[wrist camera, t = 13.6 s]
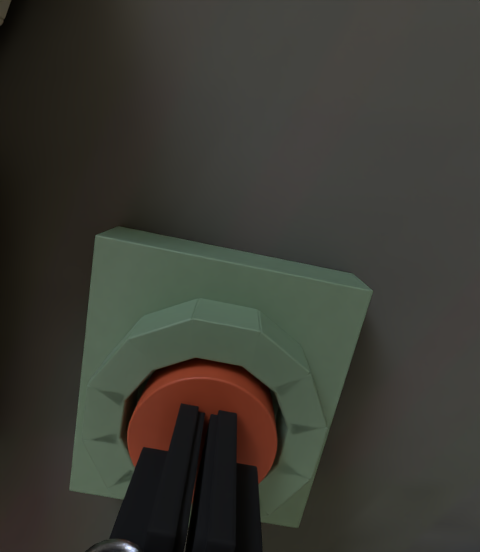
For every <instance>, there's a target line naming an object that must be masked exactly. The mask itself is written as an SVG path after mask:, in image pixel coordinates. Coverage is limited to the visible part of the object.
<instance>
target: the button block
mask: <svg viewBox="0 0 480 552" xmlns="http://www.w3.org/2000/svg"><path fill="white" fill-rule="evenodd" d="M372 293H373V290H371V289H370V288H369V287H368V286H367V285H366V284H364V283H363V282H362V281H361V280H360V279H358V278H357V277H356V276H355V275H354V274H352V273H347V272H342V271H337V270H332V269H327V268H323V267H318V266H313V265H308V264H303V263H298V262H293V261H288V260H283V259H278V258H273V257H268V256H263V255H258V254H253V253H249V252H244V251H239V250H234V249H229V248H224V247H219V246H214V245H209V244H204V243H199V242H194V241H189V240H184V239H179V238H175V237H170V236H165V235H160V234H155V233H150V232H145V231H140V230H135V229H130V228H125V227H120V226H118V227H115V228H113V229H110V230H108V231H105V232H102V233H100V234H97V235H96V236H95V244H94V253H93V263H92V273H91V283H90V293H89V302H88V312H87V322H86V332H85V342H84V351H83V361H82V371H81V381H80V390H79V400H78V410H77V420H76V430H75V439H74V449H73V459H72V469H71V479H70V488H69V490H70V491H75V492H81V493H87V494H93V495H99V496H105V497H111V498H117V499H122V500H124V497H125V494H126V492H127V489H128V486H129V483H130V481H131V478H132V475H133V472H134V470H135V467H134V465H133V463H132V460H131V458H130V455H129V451H128V444H127V431H128V426H129V422H130V419H131V417H132V414H133V412H134V410H135V408H136V406H137V403H138V401H139V399H140V397H141V395H142V393H143V390H144V388H145V386H146V384H147V382H148V380H149V379H150V377H151V376H152V374H153V373H154V372H155V371H156V370H157V369H160V368H163V367H167V366H170V365H173V364H176V363H180V362H183V361H186V360H190V359H193V358H200V359H206V360H211V361H216V362H222V363H227V364H233V365H238V366H242V367H243V368H245V369H246V370H247V371H248V372H250V373H251V374H252V375H253V376H255V377H256V378H257V379H258V380H260V381H261V382H262V383H263V384H265V385H266V386H267V387H268V388H269V390H270V393H271V397H272V402H273V409H274V416H275V423H276V430H277V439H278V442H277V452H276V457H275V459H274V462H273V465H272V467H271V469H270V470H269V472H268V474H267V475H266V476H265V478H264V479H263V480H262V481H261V482H260V483H259V484H258V485H259V501H260V518H261V522H263V523H269V524H276V525H282V526H288V527H294V528H298V527H299V524H300V521H301V518H302V515H303V512H304V509H305V505H306V502H307V499H308V496H309V493H310V490H311V487H312V483H313V480H314V477H315V474H316V471H317V468H318V464H319V461H320V458H321V455H322V452H323V449H324V445H325V442H326V439H327V436H328V433H329V430H330V426H331V423H332V420H333V417H334V414H335V411H336V407H337V404H338V401H339V398H340V395H341V392H342V388H343V385H344V382H345V379H346V376H347V373H348V369H349V366H350V363H351V360H352V357H353V354H354V350H355V347H356V344H357V341H358V338H359V335H360V331H361V328H362V325H363V322H364V319H365V316H366V312H367V309H368V306H369V303H370V300H371V297H372ZM191 509H192V505H191ZM190 515H191V511H190ZM189 522H190V518H189ZM188 527H189V524H188Z"/></svg>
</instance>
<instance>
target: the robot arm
mask: <svg viewBox="0 0 480 552" xmlns="http://www.w3.org/2000/svg"><path fill="white" fill-rule="evenodd" d="M198 409H199V406H194V405H188V404H182V403H181V405H180V408H179V412H178V416H177V420H176V424H175V427H174V431H173V435H172V439H171V442H170V446H169V450H168V451H165V450H159V449H153V448H147V447H143V448H142V451H141V453H140V456H139V459H138V461H137V464H136V467H135V470H134V472H133V475H132V478H131V481H130V483H129V486H128V489H127V492H126V494H125V497H124V500H123V503H122V505H121V508H120V511H119V514H118V516H117V519H116V522H115V524H114V527H113V530H112V533H111V535H110V538H109V540H104V541H102V542H99V543H97V544H95V545H93V546H92V547H90V548H89V549H88V550H86V551H85V552H184V547H185V542H186V536H187V531H188V536H187V543H186V549H185V552H263V550H262V534H261V518H260V501H259V485H258V471H257V467H256V466H252V465H246V464H240V463H237V413H233V412H227V411H222V410H219V411H218V415H214V414H211V415H210V419H209V424H208V429H207V434H206V438H205V443H204V448H203V452H202V457H201V462H200V466H199V471H198V476H197V481H196V485H195V490H194V484H195V478H196V471H197V464H198V458H199V451H200V444H201V438H202V431H203V424H204V417H205V413H203V412H198ZM193 491H194V496H193ZM192 498H193V502H192ZM191 505H192V509H191ZM190 511H191V515H190ZM189 518H190V522H189ZM188 524H189V529H188Z"/></svg>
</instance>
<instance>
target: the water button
mask: <svg viewBox="0 0 480 552" xmlns="http://www.w3.org/2000/svg"><path fill="white" fill-rule="evenodd" d="M181 403H182V404H188V405H194V406H199V409H198V412H203V413H205V417H204V424H203V431H202V438H201V444H200V451H199V458H198V464H197V471H196V478H195V484H194V490H195V485H196V481H197V476H198V471H199V466H200V462H201V457H202V452H203V448H204V443H205V438H206V434H207V429H208V424H209V419H210V415H211V414H214V415H218V411H219V410H222V411H227V412H233V413H237V463H240V464H246V465H252V466H256V467H257V471H258V484H259V483H260V482H261V481H262V480H263V479H264V478H265V476H266V475H267V474H268V472H269V470H270V469H271V467H272V465H273V462H274V459H275V457H276V452H277V442H278V439H277V430H276V423H275V416H274V409H273V402H272V397H271V393H270V390H269V388H268V387H267V386H266V385H265V384H263V383H262V382H261V381H260V380H258V379H257V378H256V377H255V376H253V375H252V374H251V373H250V372H248V371H247V370H246V369H245V368H243V367H242V366H238V365H233V364H227V363H222V362H216V361H211V360H206V359H200V358H193V359H190V360H186V361H183V362H180V363H176V364H173V365H170V366H167V367H163V368H160V369H157V370H156V371H155V372H154V373H153V374H152V376H151V377H150V379H149V380H148V382H147V384H146V386H145V388H144V390H143V393H142V395H141V397H140V399H139V401H138V403H137V406H136V408H135V410H134V412H133V414H132V417H131V419H130V422H129V426H128V431H127V444H128V451H129V455H130V458H131V460H132V463H133V465H134V467H136V464H137V461H138V459H139V456H140V453H141V451H142V448H143V447H147V448H153V449H159V450H165V451H168V450H169V446H170V442H171V439H172V435H173V431H174V427H175V424H176V420H177V416H178V412H179V408H180V405H181ZM193 496H194V491H193ZM192 502H193V498H192Z"/></svg>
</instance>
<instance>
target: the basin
mask: <svg viewBox="0 0 480 552" xmlns="http://www.w3.org/2000/svg"><path fill="white" fill-rule="evenodd" d="M10 3H11V0H0V26H1V25H2V24H3V22H4V21H3V19H5V18H6V15H7V12H8V9H9V6H10Z"/></svg>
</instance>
